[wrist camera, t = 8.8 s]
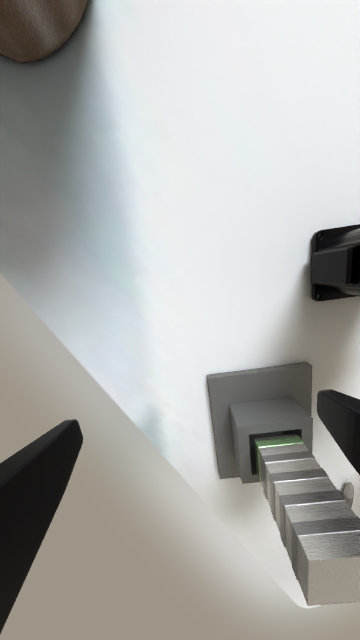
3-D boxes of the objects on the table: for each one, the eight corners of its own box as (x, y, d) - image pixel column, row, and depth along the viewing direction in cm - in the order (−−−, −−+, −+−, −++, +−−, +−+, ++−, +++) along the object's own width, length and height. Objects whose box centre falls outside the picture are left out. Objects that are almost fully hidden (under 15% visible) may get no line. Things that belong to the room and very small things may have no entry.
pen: (326, 549, 28) (334, 563, 26) (340, 475, 24) (350, 486, 23) (333, 549, 28) (341, 563, 26) (348, 474, 24) (358, 486, 23)
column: (297, 433, 18) (385, 553, 10) (297, 467, 19) (377, 601, 11) (253, 438, 18) (307, 560, 10) (255, 471, 19) (306, 606, 11)
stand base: (307, 362, 20) (344, 387, 16) (305, 463, 24) (336, 509, 19) (206, 374, 21) (214, 403, 16) (218, 472, 24) (227, 519, 19)
